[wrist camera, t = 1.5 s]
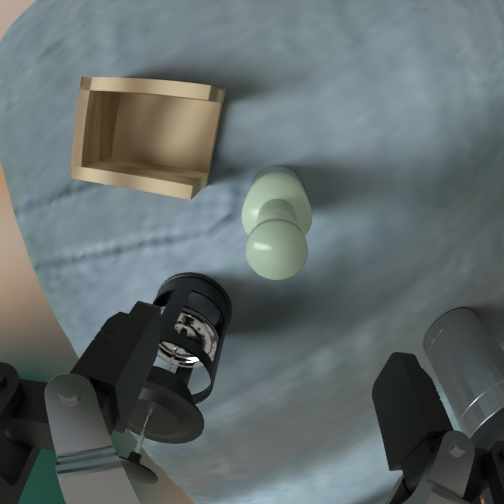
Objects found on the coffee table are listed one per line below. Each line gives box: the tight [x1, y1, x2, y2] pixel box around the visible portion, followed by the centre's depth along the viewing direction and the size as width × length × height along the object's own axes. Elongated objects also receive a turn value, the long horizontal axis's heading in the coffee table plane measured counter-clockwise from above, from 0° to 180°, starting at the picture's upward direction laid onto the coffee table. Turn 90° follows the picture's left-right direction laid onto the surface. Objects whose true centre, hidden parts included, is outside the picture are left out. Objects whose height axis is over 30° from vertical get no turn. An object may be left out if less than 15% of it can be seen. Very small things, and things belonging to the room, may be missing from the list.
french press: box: [119, 273, 232, 484], centre depth 27 cm, size 12×9×23 cm
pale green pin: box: [242, 165, 312, 280], centre depth 25 cm, size 5×5×16 cm
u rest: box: [71, 77, 226, 200], centre depth 27 cm, size 12×10×7 cm
